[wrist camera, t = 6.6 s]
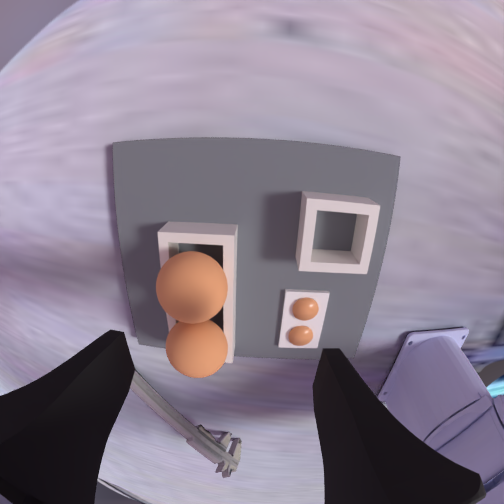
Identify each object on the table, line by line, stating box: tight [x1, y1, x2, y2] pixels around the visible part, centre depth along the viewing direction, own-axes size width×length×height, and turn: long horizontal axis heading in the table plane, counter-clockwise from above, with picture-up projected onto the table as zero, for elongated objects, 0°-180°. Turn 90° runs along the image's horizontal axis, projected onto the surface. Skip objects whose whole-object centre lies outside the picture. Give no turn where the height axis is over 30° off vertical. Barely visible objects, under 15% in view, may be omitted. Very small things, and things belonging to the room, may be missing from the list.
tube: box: [295, 191, 380, 274], centre depth 16 cm, size 4×4×2 cm
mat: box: [113, 138, 400, 359], centre depth 19 cm, size 16×18×1 cm
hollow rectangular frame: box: [158, 222, 238, 363], centre depth 18 cm, size 10×4×2 cm, turn 177°
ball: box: [156, 251, 228, 324], centre depth 15 cm, size 4×4×4 cm
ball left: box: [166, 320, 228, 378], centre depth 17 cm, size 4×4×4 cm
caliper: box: [130, 370, 241, 478], centre depth 23 cm, size 20×1×6 cm, turn 40°
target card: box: [278, 289, 330, 348], centre depth 19 cm, size 5×3×1 cm, turn 177°
